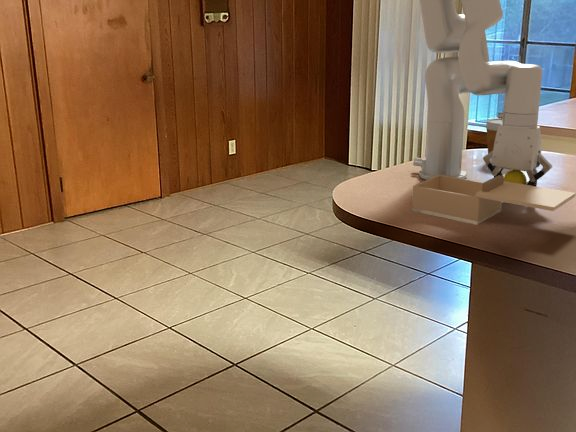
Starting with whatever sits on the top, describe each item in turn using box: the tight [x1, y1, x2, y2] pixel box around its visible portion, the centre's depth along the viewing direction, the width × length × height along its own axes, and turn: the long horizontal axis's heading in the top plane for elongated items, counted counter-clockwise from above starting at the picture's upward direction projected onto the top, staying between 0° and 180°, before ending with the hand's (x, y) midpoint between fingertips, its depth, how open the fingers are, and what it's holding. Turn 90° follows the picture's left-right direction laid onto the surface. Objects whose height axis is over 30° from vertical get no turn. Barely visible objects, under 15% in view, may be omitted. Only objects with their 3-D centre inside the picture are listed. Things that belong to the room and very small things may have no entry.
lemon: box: [503, 169, 528, 185], centre depth 155 cm, size 6×6×8 cm
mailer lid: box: [475, 175, 576, 212], centre depth 138 cm, size 16×12×3 cm
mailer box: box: [411, 175, 503, 226], centre depth 149 cm, size 16×12×6 cm
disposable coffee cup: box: [484, 118, 503, 154], centre depth 191 cm, size 10×10×12 cm
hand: (513, 193), depth 156 cm, fingers open, 7 cm apart
